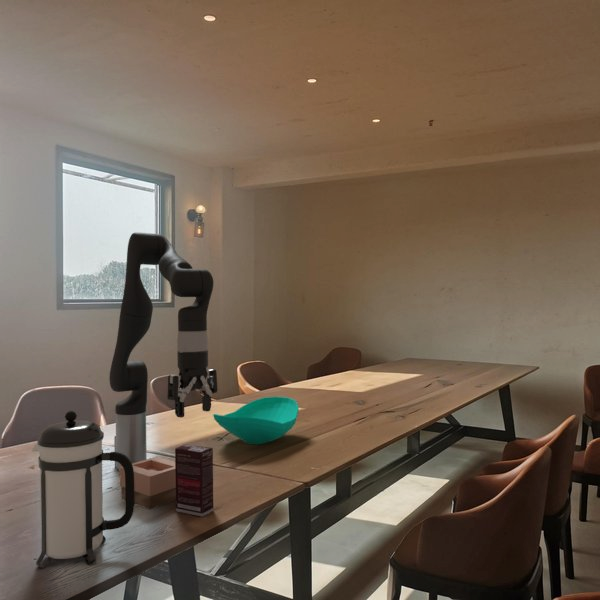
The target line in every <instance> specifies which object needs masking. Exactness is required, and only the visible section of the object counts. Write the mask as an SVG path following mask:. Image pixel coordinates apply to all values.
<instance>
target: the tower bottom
mask: <svg viewBox="0 0 600 600" xmlns="http://www.w3.org/2000/svg"><path fill="white" fill-rule="evenodd" d="M120 487H121V500H123V501H125V487H122V486H120ZM134 498H135V499H134V505H137V506H138V507H142V508H145V509H147V510H152V509H156V508H158V507H160V506H163V505H166V504H168V503H171V501H172V502H174V501H176V488H173V489H170V490H167V491H164V492H161V493H158V494H156V495H153V496H148V495H145V494H142V493H139V492H136V491H134ZM173 500H174V501H173Z"/></svg>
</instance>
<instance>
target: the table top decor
mask: <svg viewBox="0 0 600 600" xmlns="http://www.w3.org/2000/svg"><path fill="white" fill-rule="evenodd" d="M299 409H300V407H299V404H298V402H297V401H296V400H295V399H293V398H290V397H285V396H269V397H262V398H258V399H254V400H252V401H250V402H248V403H246V404H244V405H242V406H240V408H238V409H237V410H235V411H233V412H229V413H227V414H224V415H220V414H217V413H213V414H212V415H213V420H215V422H216V423H217V424H218V425H219V426H220V427H222V428H223V429H224V430H225V431H227V432H228V433H230V434H232V435H233V436H235V437H237V438H238V439H240V440H241V441H243V442H245V444H249V445H263V444H266V443H270V442H273V441H274V440H278V439H279V438H281V437H283V436H284V435H286V434H287V433H288V432H289V431H291V429H293V427H294V425H296V421H297V417H298V414H299Z"/></svg>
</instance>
